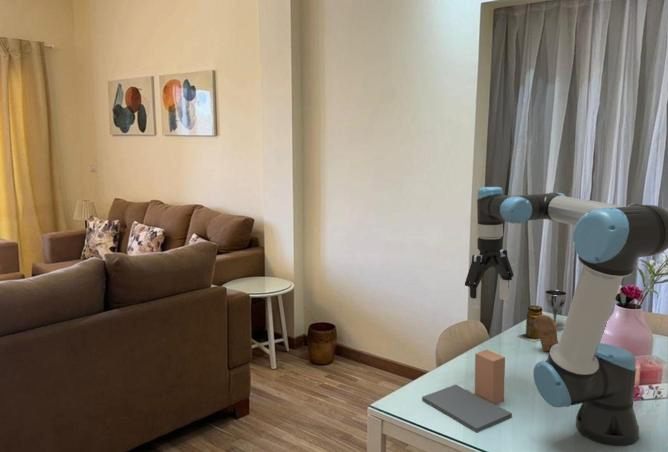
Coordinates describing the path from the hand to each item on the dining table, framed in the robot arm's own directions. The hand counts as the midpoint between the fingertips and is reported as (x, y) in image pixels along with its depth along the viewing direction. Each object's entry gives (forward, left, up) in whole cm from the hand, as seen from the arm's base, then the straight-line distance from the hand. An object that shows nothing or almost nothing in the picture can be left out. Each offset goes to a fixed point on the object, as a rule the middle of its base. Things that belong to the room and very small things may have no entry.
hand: (489, 303), depth 172 cm
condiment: (+17, -44, -27) cm, 54 cm away
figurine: (+5, -36, -27) cm, 45 cm away
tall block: (-8, +8, -26) cm, 29 cm away
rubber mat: (-8, +18, -26) cm, 33 cm away
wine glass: (+18, -59, -27) cm, 67 cm away
